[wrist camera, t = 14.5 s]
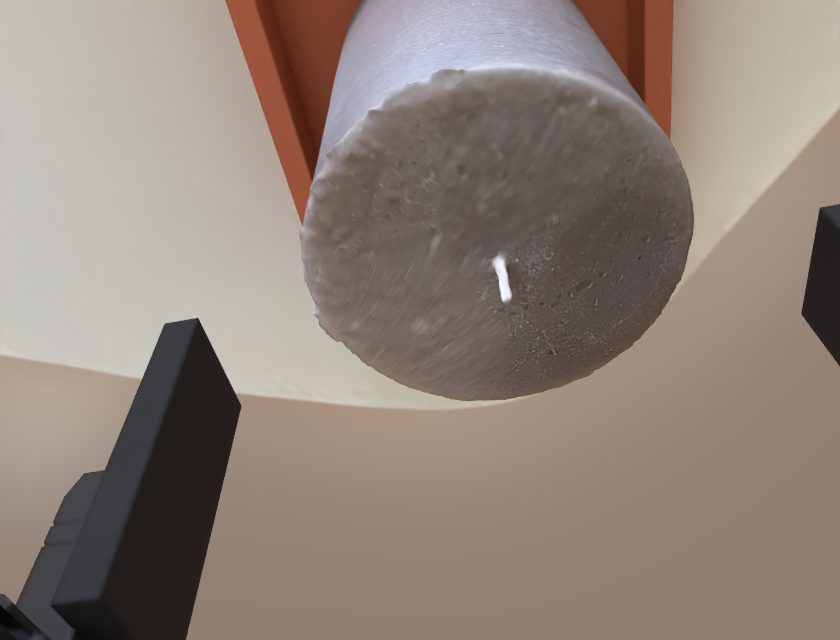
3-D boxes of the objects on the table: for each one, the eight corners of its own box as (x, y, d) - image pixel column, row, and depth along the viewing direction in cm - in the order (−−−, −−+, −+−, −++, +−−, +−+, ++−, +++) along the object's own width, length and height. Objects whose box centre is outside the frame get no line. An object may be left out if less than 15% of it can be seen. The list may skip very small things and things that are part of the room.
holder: (330, 248, 34) (324, 291, 32) (217, -105, 25) (194, -89, 22) (646, 192, 33) (668, 231, 30) (646, -206, 24) (678, -202, 21)
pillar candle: (621, 108, 29) (772, 340, 17) (420, 221, 32) (431, 484, 20) (512, -127, 24) (621, -25, 12) (285, 33, 27) (196, 238, 15)
